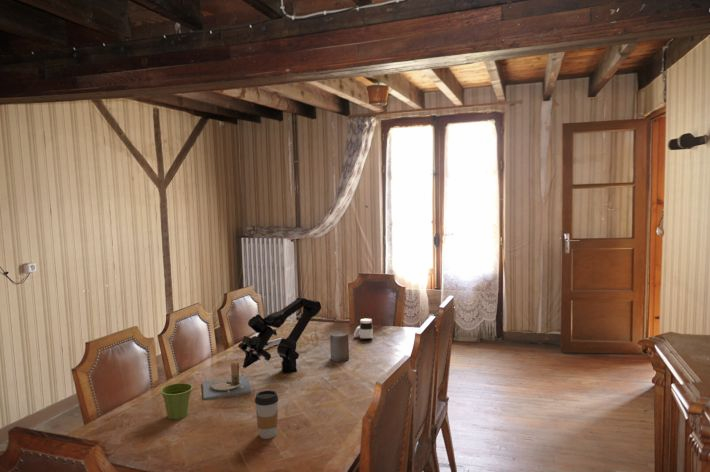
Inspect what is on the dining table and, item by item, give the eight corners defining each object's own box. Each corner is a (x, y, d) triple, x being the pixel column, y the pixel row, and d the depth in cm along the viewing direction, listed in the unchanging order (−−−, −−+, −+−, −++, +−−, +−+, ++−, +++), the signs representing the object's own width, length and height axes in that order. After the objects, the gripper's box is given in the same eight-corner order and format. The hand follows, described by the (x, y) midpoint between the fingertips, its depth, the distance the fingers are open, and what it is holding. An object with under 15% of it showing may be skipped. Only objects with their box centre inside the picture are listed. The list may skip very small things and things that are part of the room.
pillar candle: (350, 356, 260) (349, 328, 259) (347, 362, 250) (347, 333, 249) (332, 356, 261) (331, 328, 260) (329, 362, 251) (328, 333, 250)
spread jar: (373, 341, 285) (372, 321, 285) (353, 341, 286) (353, 322, 285) (372, 335, 297) (372, 316, 296) (354, 335, 298) (353, 317, 297)
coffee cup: (257, 429, 179) (256, 390, 178) (280, 428, 180) (279, 389, 178) (254, 441, 171) (253, 399, 169) (278, 439, 171) (277, 398, 170)
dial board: (246, 377, 231) (246, 374, 231) (251, 393, 213) (251, 389, 212) (202, 383, 225) (202, 380, 225) (203, 400, 206) (203, 396, 206)
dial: (205, 389, 214) (204, 366, 214) (221, 378, 227) (220, 357, 226) (231, 392, 211) (230, 369, 210) (246, 381, 223) (245, 359, 222)
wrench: (283, 347, 287) (251, 356, 260) (281, 346, 288) (249, 356, 261) (284, 333, 287) (252, 341, 260) (281, 333, 288) (249, 341, 261)
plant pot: (175, 425, 184) (173, 396, 183) (155, 418, 190) (153, 390, 189) (200, 413, 194) (199, 386, 193) (180, 407, 200) (179, 380, 199)
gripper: (240, 325, 229) (220, 354, 222) (264, 332, 216) (244, 363, 209) (255, 338, 235) (236, 366, 228) (279, 345, 223) (260, 375, 215)
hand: (243, 367), depth 220 cm, fingers closed
